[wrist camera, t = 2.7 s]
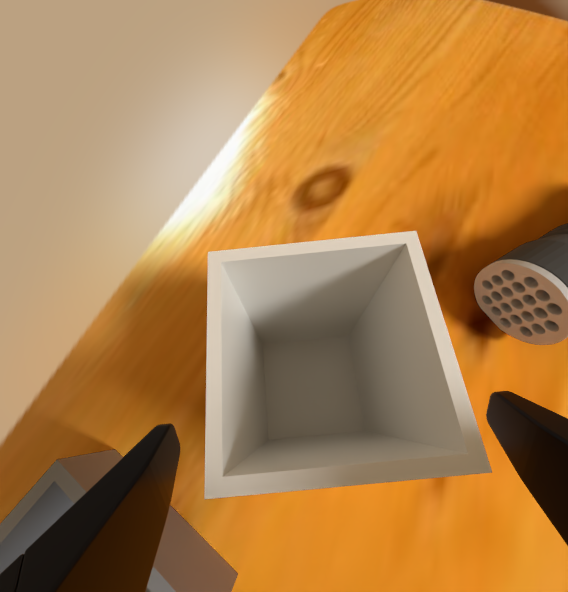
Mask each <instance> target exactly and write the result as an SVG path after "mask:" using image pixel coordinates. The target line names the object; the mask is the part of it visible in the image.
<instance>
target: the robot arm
mask: <svg viewBox="0 0 568 592" xmlns="http://www.w3.org/2000/svg"><path fill="white" fill-rule="evenodd" d="M486 416H487V421H488V423H489V425H490V427H491V429H492V430H493V432H494V434H495V435H496V437H497V439H498V441H499V442H500V444H501V446H502V447H503V449H504V451H505V453H506V454H507V456H508V458H509V460H510V461H511V463H512V465H513V466H514V468H515V470H516V471H517V473H518V475H519V476H520V478H521V479H522V481H523V482H524V484H525V485H526V487H527V488H528V490H529V491H530V493H531V494H532V496H533V497H534V498H535V500H536V501H537V503H538V504H539V505H540V507H541V508H542V510H543V511H544V513H545V514H546V515H547V517H548V518H549V520H550V521H551V523H552V524H553V525H554V527H555V528H556V530H557V531H558V533H559V534H560V535H561V537H562V538H563V540H564V541H565V542H566V544H567V545H568V419H567V418H565V417H563V416H561V415H559V414H557V413H555V412H552V411H550V410H548V409H546V408H544V407H542V406H540V405H537V404H535V403H533V402H531V401H529V400H527V399H525V398H523V397H520V396H518V395H516V394H514V393H512V392H509V391H501V392H494V393H492V394H491V396H490V400H489V404H488V409H487V414H486ZM179 455H180V443H179V440H178V437H177V434H176V431H175V427H174V425H173V424H160V425H157V426H156V427H155V428H154V429H152V430H151V431H150V432H149V433H148V434H147V435H146V436H145V437H144V438H143V439H142V440H141V441H140V442H139V443H138V444H137V445H136V446H135V447H134V448H132V449H131V450H130V451H129V452H128V453H127V454H126V455H125V456H124V457H123V458H122V459H121V460H120V461H119V462H118V463H117V464H116V465H115V466H114V467H112V468H111V469H110V470H109V471H108V472H107V473H106V474H105V475H104V476H103V477H102V478H101V479H100V480H99V481H98V482H97V483H96V484H95V485H94V486H92V487H91V488H90V489H89V490H88V491H87V492H86V493H85V494H84V495H83V496H82V497H81V498H80V499H79V500H78V501H77V502H76V503H75V504H74V505H72V506H71V507H70V508H69V509H68V510H67V511H66V512H65V513H64V514H63V515H62V516H61V517H60V518H59V519H58V520H57V521H56V522H55V523H54V524H52V525H51V526H50V527H49V528H48V529H47V530H46V531H45V532H44V533H43V534H42V535H41V536H40V537H39V538H38V539H37V540H36V541H35V542H34V543H32V544H31V545H30V546H29V547H28V548H27V549H26V550H25V553H24V554H21V555H20V556H19V557H18V558H17V559H15V560H14V561H13V562H12V563H11V564H10V565H9V566H8V567H7V568H6V569H5V570H4V571H3V572H2V573H1V574H0V592H146V588H147V585H148V581H149V578H150V574H151V571H152V568H153V564H154V561H155V557H156V554H157V550H158V547H159V544H160V540H161V537H162V533H163V530H164V526H165V523H166V519H167V516H168V512H169V507H170V502H171V497H172V492H173V487H174V481H175V476H176V471H177V466H178V461H179Z"/></svg>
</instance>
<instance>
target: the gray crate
mask: <svg viewBox="0 0 568 592" xmlns="http://www.w3.org/2000/svg"><path fill="white" fill-rule="evenodd" d="M122 458H123V457H122V456H121V455H120V454H119V453H118V452H117V451H116V450H115V449H113V450H107V451H102V452H96V453H91V454H85V455H79V456H74V457H68V458H62V459H57V460H56V461H55V462H54V463H53V465H52V466H51V467H50V468H49V469H48V470H47V471H46V473H45V474H44V475H43V476H42V477H41V478H40V479H39V481H38V482H37V483H36V484H35V485H34V486H33V487H32V489H31V490H30V491H29V492H28V493H27V494H26V495H25V496H24V498H23V499H22V500H21V501H20V502H19V503H18V504H17V506H16V507H15V508H14V509H13V510H12V511H11V512H10V514H9V515H8V516H7V517H6V518H5V519H4V520H3V521H2V523H1V524H0V574H1V573H2V572H3V571H4V570H5V569H6V568H7V567H8V566H9V565H10V564H11V563H12V562H13V561H14V560H15V559H17V558H18V557H19V556H20V555H21V554H24V553H25V550H26V549H27V548H28V547H29V546H30V545H31V544H32V543H34V542H35V541H36V540H37V539H38V538H39V537H40V536H41V535H42V534H43V533H44V532H45V531H46V530H47V529H48V528H49V527H50V526H51V525H52V524H54V523H55V522H56V521H57V520H58V519H59V518H60V517H61V516H62V515H63V514H64V513H65V512H66V511H67V510H68V509H69V508H70V507H71V506H72V505H74V504H75V503H76V502H77V501H78V500H79V499H80V498H81V497H82V496H83V495H84V494H85V493H86V492H87V491H88V490H89V489H90V488H91V487H92V486H94V485H95V484H96V483H97V482H98V481H99V480H100V479H101V478H102V477H103V476H104V475H105V474H106V473H107V472H108V471H109V470H110V469H111V468H112V467H114V466H115V465H116V464H117V463H118V462H119V461H120V460H121V459H122ZM237 575H238V573H237V572H236V571H235V570H234V569H233V568H232V567H231V566H230V565H229V564H228V563H227V562H226V561H225V560H224V559H223V558H222V557H221V556H220V555H219V554H218V553H217V552H216V551H215V550H214V549H213V548H212V547H211V546H210V545H209V544H208V543H207V542H206V541H205V540H204V539H203V538H202V537H201V536H200V535H199V534H198V533H197V532H196V531H195V530H194V529H193V528H192V527H191V526H190V525H189V524H188V523H187V522H186V521H185V520H184V519H183V518H182V517H181V516H180V515H179V514H178V513H177V512H176V511H175V510H174V509H173V508H172V507H171V505H170V507H169V512H168V516H167V519H166V523H165V526H164V530H163V533H162V537H161V540H160V544H159V547H158V550H157V554H156V557H155V561H154V564H153V568H152V571H151V574H150V578H149V581H148V585H147V588H146V592H231V591H232V588H233V586H234V583H235V580H236V578H237Z"/></svg>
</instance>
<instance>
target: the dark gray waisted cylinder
mask: <svg viewBox="0 0 568 592" xmlns="http://www.w3.org/2000/svg"><path fill="white" fill-rule="evenodd" d="M474 293H475V297H476V300H477V302H478V305H479V306H480V308H481V309H482V310H483V311H484V312H485V313H486V315H487V316H488V317H489V318H490V319H491V320H492V321H493V322H494V323H495V324H496V325H497V326H498V327H499V329H501V330H502V331H504V332H505V333H507V334H508V335H510V336H512V337H514V338H516V339H519V340H521V341H524V342H527V343H531V344H537V345H550V344H555V343H558V342H560V341H562V340H564V339H565V338H567V337H568V223H567V224H564V225H561V226H559V227H557V228H555V229H553V230H552V231H550V232H548V233H547V234H545V235H543V236H542V237H540V238H539V239H538V240H535V241H531V242H528V243H525V244H523V245H520V246H519V247H517V248H515V249H514V250H512V251H511V252H509V253H507V254H506V255H504V256H503V257H501V258H499V259H498V260H496V261H495V262H493V263H491V264H490V265H488V266H486V267H485V268H484V269H482V270H481V271H480V272H479V273H478V275H477V277H476V279H475V282H474Z"/></svg>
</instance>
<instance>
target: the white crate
mask: <svg viewBox="0 0 568 592" xmlns="http://www.w3.org/2000/svg"><path fill="white" fill-rule="evenodd" d="M491 472H492V470H491V467H490V464H489V461H488V457H487V454H486V451H485V448H484V445H483V442H482V438H481V435H480V432H479V429H478V426H477V422H476V419H475V416H474V413H473V410H472V407H471V403H470V400H469V397H468V394H467V391H466V388H465V384H464V381H463V378H462V375H461V372H460V368H459V365H458V362H457V359H456V356H455V353H454V349H453V346H452V343H451V340H450V337H449V334H448V330H447V327H446V324H445V321H444V318H443V314H442V311H441V308H440V305H439V302H438V299H437V295H436V292H435V289H434V286H433V283H432V279H431V276H430V273H429V270H428V267H427V264H426V260H425V257H424V254H423V251H422V248H421V245H420V241H419V238H418V235H417V232H416V231H409V232H399V233H389V234H380V235H370V236H360V237H350V238H340V239H331V240H321V241H311V242H301V243H291V244H282V245H272V246H262V247H252V248H242V249H233V250H223V251H213V252H208V285H207V358H206V430H205V499H213V498H223V497H234V496H245V495H256V494H266V493H277V492H288V491H298V490H309V489H320V488H330V487H341V486H352V485H363V484H373V483H384V482H395V481H405V480H416V479H427V478H437V477H448V476H459V475H469V474H480V473H491Z"/></svg>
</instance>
